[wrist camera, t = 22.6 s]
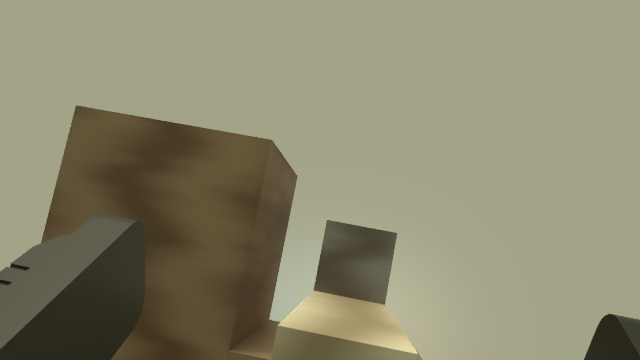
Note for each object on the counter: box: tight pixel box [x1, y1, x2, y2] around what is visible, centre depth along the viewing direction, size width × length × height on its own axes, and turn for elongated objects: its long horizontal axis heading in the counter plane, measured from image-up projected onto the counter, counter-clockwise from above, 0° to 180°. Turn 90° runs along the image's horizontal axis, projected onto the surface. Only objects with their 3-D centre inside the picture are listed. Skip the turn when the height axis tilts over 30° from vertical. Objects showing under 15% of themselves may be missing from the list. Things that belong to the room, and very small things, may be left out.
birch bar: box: [271, 220, 418, 360], centre depth 25 cm, size 4×20×7 cm, turn 177°
